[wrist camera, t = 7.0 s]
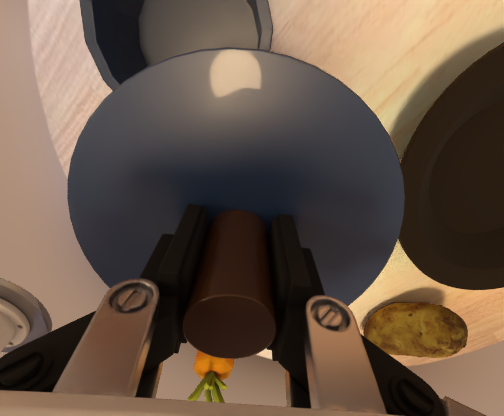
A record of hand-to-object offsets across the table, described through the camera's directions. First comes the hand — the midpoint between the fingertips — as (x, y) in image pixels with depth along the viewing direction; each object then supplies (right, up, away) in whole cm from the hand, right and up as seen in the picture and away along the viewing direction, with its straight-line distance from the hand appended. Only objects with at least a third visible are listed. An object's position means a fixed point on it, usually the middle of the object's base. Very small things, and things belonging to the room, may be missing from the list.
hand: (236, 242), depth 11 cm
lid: (0, 0, +1) cm, 1 cm away
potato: (+24, -15, +32) cm, 43 cm away
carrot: (-4, -13, +31) cm, 34 cm away
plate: (+27, +6, +21) cm, 35 cm away
